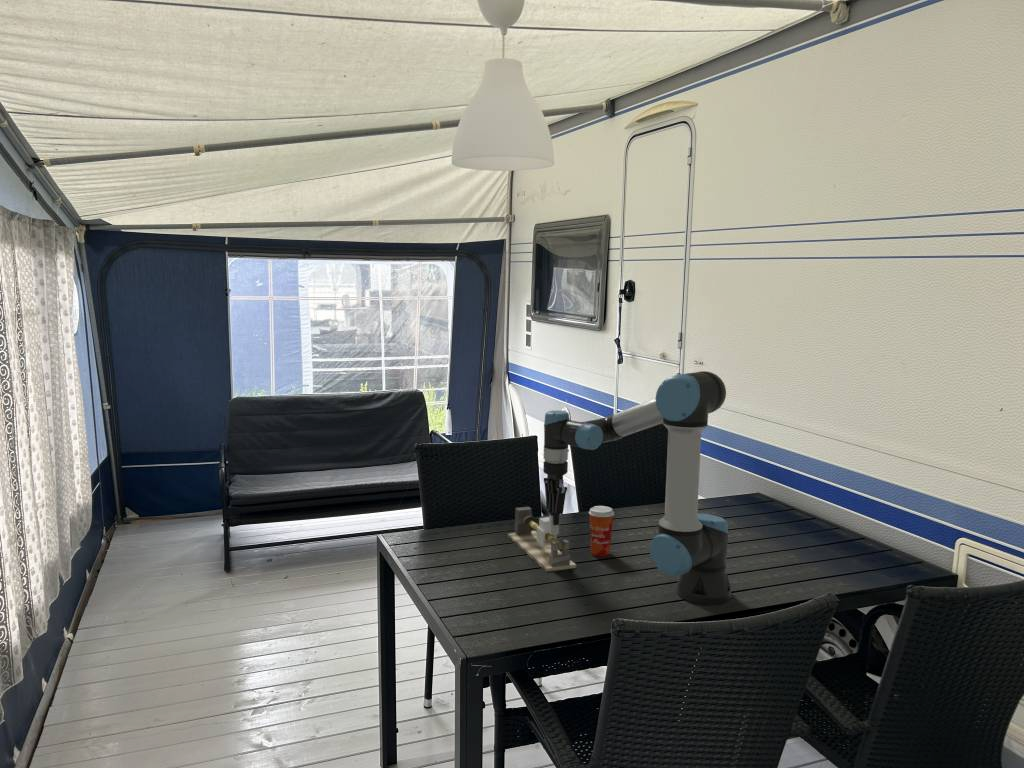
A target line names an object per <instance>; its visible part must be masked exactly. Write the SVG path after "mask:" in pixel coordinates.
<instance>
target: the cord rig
mask: <svg viewBox="0 0 1024 768" xmlns="http://www.w3.org/2000/svg"><path fill="white" fill-rule="evenodd" d="M537 527H539V524H538V520H537V519H536V517H535V516H534V515H533V509H532V508H531V507H530V506H523V507H522V506H521V507H515V508H514V532H511V533H508V534H507V537H508V538H509V539H510V540H511V541H513V542H514V543H515V545H517V546H518V547H519V548H520V549H521V550H522V551H524V553H525V554H527V555H528V557H530V558H531V559H532V560H533V561H535V563H536V564H538V565H539V566H540V568H542V569H543V570H544V571H545V572H554V571H562V570H569V569H577V564H576V563H575V562H574V561H573V560H571V555H570V541H569V540H568V539H562V540H561V541H560V540H558V539H555V538H554V537H553V536H552V535H550V534H549V533H548V534H545V539H546V540H548V541H549V542H550V543H551V545H548V546H542V545H541V544H540V543H538V542H537ZM560 550H561V551H560Z"/></svg>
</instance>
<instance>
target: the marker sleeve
mask: <svg viewBox="0 0 1024 768" xmlns="http://www.w3.org/2000/svg"><path fill="white" fill-rule="evenodd" d="M549 517H550V516H545V517H539V520H538V521H539V522H538V523H539V524H538V525H539V527H537V531H536V532H537V542H538V543H540V544H541V545H542V546H548V545H551V543H550V542H549V541H548V540H546V539H545V534H548V533H549ZM557 535H558V534H556V535H552V536H553V537H554V538H555V539H557V537H558V536H557ZM557 540H558V539H557Z"/></svg>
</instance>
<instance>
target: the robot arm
mask: <svg viewBox="0 0 1024 768" xmlns="http://www.w3.org/2000/svg"><path fill="white" fill-rule="evenodd" d="M726 397H727V387H726V385H725V382H724V381H723V380H722V378H721V377H720V376H718V375H717V374H716V373H714V372H710V371H706V370H704V371H696V372H695V371H694V372H688V373H678V374H675V375H672V376H669V377H667V378H666V379H664V380H663V381H662V382H661V383H660V385H659V386H658V388H657V390H656V393H655V398H653V399H650V400H648V401H644V402H642V403H639V404H637V405H634V406H632V407H629V408H626V409H624V410H621V411H618V412H616V413H614V414H610V415H608V416H605V417H602V418H598V419H593V420H592V419H591V420H587V421H586V420H585V421H576V420H571V419H570V414H569V412H568V411H565V410H549V411H547V412H545V415H544V424H543V433H544V435H543V437H544V438H543V439H544V441H543V468H542V469H543V473H544V474H546V476H547V477H544V478H543V483H544V492H545V506H546V507H545V508H546V510H548V513H549V516H548V517H549V534H550V535H556V534H557V535H559V534H560V515H564V508H565V500H566V495H567V492H568V487H567V486H564V475H567V473H568V470H569V468H568V467H569V463H568V462H569V461H568V459H569V457H568V456H569V452H570V450H569V446H572V447H575V448H580V449H582V450H592V451H593V450H596V449H598V448H599V447H600V446H601V445H602V444H604V443H609V442H615V441H619V440H620V439H623V438H624V437H627V436H629V435H632V434H635V433H637V432H640V431H644V430H647V429H649V428H652V427H655V426H657V425H661V424H663V426H664V427H665V428H666V429H667V451H666V452H667V453H666V454H667V458H666V474H665V475H666V476H665V477H666V478H665V498H664V499H665V500H664V516H663V517H662V518H660V519H659V521H658V526H657V527H658V531H657V533H658V534H656V535H655V536H654V537H653V538H652V540H651V541H650V543H649V555H650V558H651V560H652V562H653V564H655V565H656V568H657V569H658V570H659V571H660V572H661V573H663V574H665V575H667V576H673V577H678V576H679V579H678V581H677V583H676V594H677V595H678V596H679V597H680V598H681V599H684V600H686V601H687V602H690V603H695V604H701V605H706V606H707V605H709V606H711V605H713V606H715V605H720V604H725V603H727V602H729V601H730V600H731V598H732V588H731V585H730V581H729V577H728V574H727V558H728V557H727V555H728V540H729V539H728V538H729V524H728V521H727V520H725V519H724V518H723V517H720V516H717V515H712V514H709V513H702V512H701V513H700V512H699V513H698V510H699V508H698V507H699V488H700V487H699V486H700V485H699V484H700V466H701V465H700V464H701V447H702V446H701V444H702V442H701V441H702V432H703V431H704V430H705V429H706V428H708V421H709V414H711V413H714V412H716V411H717V410H719V409H720V408H722V406H723V404H724V403H725V400H726Z"/></svg>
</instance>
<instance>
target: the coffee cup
mask: <svg viewBox="0 0 1024 768" xmlns="http://www.w3.org/2000/svg"><path fill="white" fill-rule="evenodd" d="M588 514H589V535H590V539H589V540H590V553H591V555H593V556H596V557H608V556H609V555H610V549H611V541H612V540H611V539H612V528H613V519H614V516H615V512H614V510H613V508H612V507H609V506H604V505H595V506H593V507H591V508H589V511H588Z"/></svg>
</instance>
